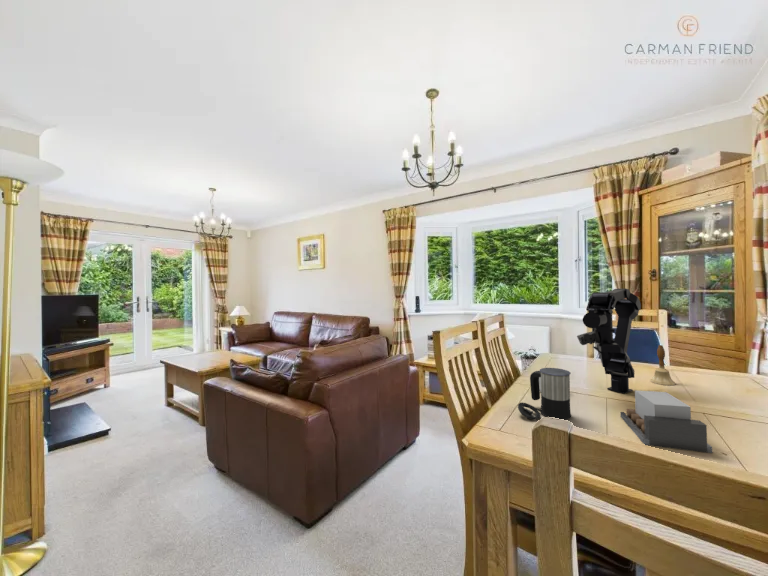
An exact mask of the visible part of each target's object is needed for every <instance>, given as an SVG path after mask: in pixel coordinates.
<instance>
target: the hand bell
mask: <svg viewBox="0 0 768 576" xmlns="http://www.w3.org/2000/svg"><path fill="white" fill-rule="evenodd" d="M656 355H657V358H658V366H659V367H658V368H656V369H654V375H653V377H652V378H650V379H649V382H651V383H652V384H655V385H660V386H675V385H676V384H677V383H676V382H675V381H674V380H673V379H672V377H671V375H670V371H669V370H668V369H666V368H665V357H666V351H665V349H664V346H663V345H661V344H658V347H657V349H656Z"/></svg>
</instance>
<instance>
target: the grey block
mask: <svg viewBox="0 0 768 576" xmlns="http://www.w3.org/2000/svg"><path fill="white" fill-rule="evenodd" d="M634 399H635V400H634V405H635V407H634V408H635V409H636V414H638V415H639V416H640V417H641V418H642V419H644V415H646V416H656V417H667V418H678V419H689V420H692V415H691V413H692V412H691V411H692V409H691V408H692V407H691V406H690V405H688V404H687V403H685V402H684V401H682V400H681V399H678V398H677V397H675V396H673V395H672V394H670V393H668V392H666V391H653V390H652V391H651V390H634Z"/></svg>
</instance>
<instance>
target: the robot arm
mask: <svg viewBox="0 0 768 576" xmlns="http://www.w3.org/2000/svg"><path fill="white" fill-rule="evenodd" d="M641 303H642V302H641V301H640V299H639V297H638V296H637V295H635V294H633V293H632V292H631V290H630V289H628V288H613V290H609V291H606V292H592V293H591V295H590V296H589V298H588V302H587V305H586V311H587V312H586V313H585V314H584V315H583V317H582V322H583V324H584V326H585V327H586V328H587V329H588V328H589V329H591V331H590V332H585V333H581V334H578V335H577V336H576V337H577V339H578V342H579V344H580V345H581V346H585V345H588V344H589V345H593V344H594V346H592V348H593V349H594V350H596V352H597V353H598V356H599V360H600V363H601V366H602V367H603V368H604V374H605V375H610V386H609V387H607V388H606V389H607V390H608V391H613V392H616V393H621V394H624V395H625V394H628V393H631V392H633V391H634V389H632V388H630V386H629V382H630V381H629V379H633V378H635V369H634V367H633V365H632V363H631V359H630V356H629V355H628V347H629V341H630V335H631V329H632V325H633V324H632V322H633V320H635V319H636V317H638V316H639V312H640V310H641V307H642V304H641ZM614 311H615V313H616V315H617V323H616V329H614V325H613V313H614ZM613 333H615V335H614V334H613Z"/></svg>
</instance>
